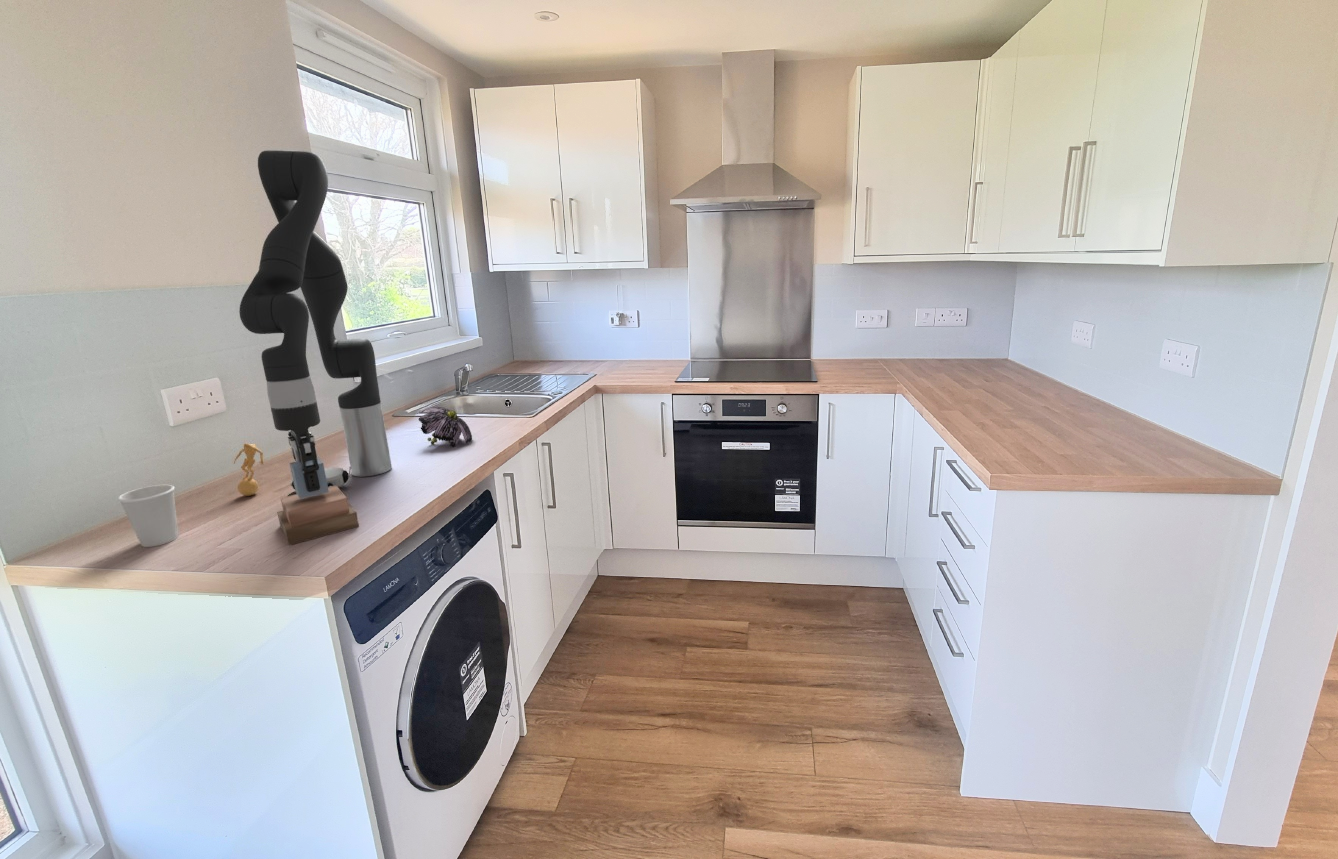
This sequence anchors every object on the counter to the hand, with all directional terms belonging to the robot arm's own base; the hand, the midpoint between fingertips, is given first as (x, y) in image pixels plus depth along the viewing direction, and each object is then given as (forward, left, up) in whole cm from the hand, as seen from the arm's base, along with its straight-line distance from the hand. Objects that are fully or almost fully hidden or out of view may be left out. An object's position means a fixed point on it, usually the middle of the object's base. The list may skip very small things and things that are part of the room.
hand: (311, 486), depth 120 cm
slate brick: (0, 0, -1) cm, 1 cm away
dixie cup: (-15, -25, -9) cm, 30 cm away
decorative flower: (-41, +40, -9) cm, 58 cm away
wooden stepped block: (0, 0, -8) cm, 8 cm away
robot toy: (-20, +4, -9) cm, 22 cm away
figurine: (-33, -8, -9) cm, 35 cm away
